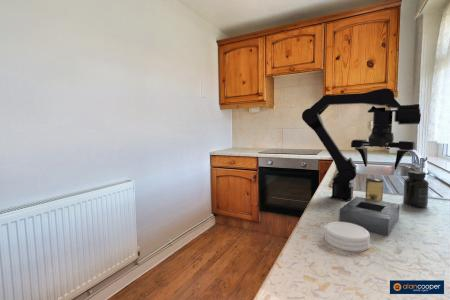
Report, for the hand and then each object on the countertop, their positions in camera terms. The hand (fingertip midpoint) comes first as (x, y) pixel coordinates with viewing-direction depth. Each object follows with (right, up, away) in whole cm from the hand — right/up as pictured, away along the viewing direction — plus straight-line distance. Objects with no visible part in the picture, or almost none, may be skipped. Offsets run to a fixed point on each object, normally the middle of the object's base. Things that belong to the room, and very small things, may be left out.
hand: (380, 167), depth 86 cm
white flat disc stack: (-26, -17, -27) cm, 41 cm away
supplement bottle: (+11, -13, -2) cm, 17 cm away
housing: (-13, -15, -15) cm, 25 cm away
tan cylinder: (-5, -14, -4) cm, 15 cm away
